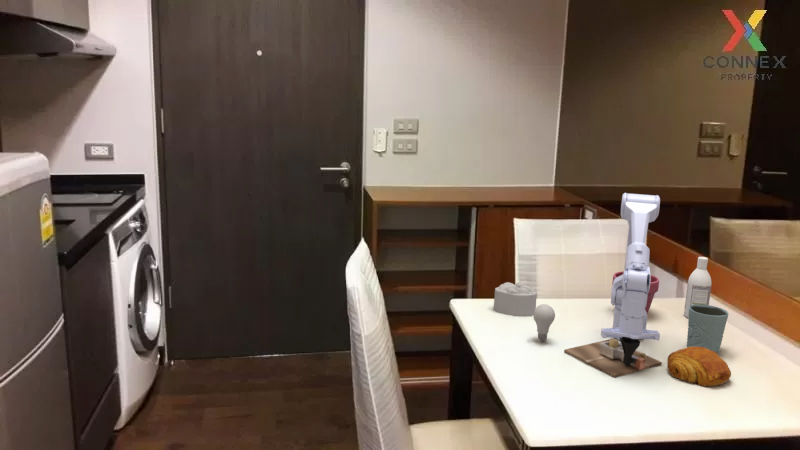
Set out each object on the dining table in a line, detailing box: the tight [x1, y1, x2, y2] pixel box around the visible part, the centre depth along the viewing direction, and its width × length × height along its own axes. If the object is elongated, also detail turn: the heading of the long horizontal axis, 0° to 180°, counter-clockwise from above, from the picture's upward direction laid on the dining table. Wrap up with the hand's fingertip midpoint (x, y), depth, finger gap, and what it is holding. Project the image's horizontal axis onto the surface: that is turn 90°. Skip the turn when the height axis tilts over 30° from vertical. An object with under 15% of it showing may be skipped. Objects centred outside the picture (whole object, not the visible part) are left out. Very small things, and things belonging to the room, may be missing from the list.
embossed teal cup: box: [686, 304, 729, 355], centre depth 189 cm, size 10×10×12 cm
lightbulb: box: [532, 303, 556, 342], centre depth 191 cm, size 6×6×11 cm
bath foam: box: [683, 256, 713, 319], centre depth 215 cm, size 7×7×20 cm
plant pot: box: [611, 271, 660, 315], centre depth 217 cm, size 14×14×13 cm
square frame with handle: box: [599, 341, 645, 370], centre depth 178 cm, size 13×5×3 cm, turn 29°
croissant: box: [666, 346, 732, 387], centre depth 172 cm, size 14×16×8 cm
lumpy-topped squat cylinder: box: [493, 281, 538, 317], centre depth 217 cm, size 10×13×9 cm
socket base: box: [563, 338, 663, 379], centre depth 181 cm, size 18×18×5 cm
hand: (626, 364), depth 175 cm, fingers closed, pressing on square frame with handle
